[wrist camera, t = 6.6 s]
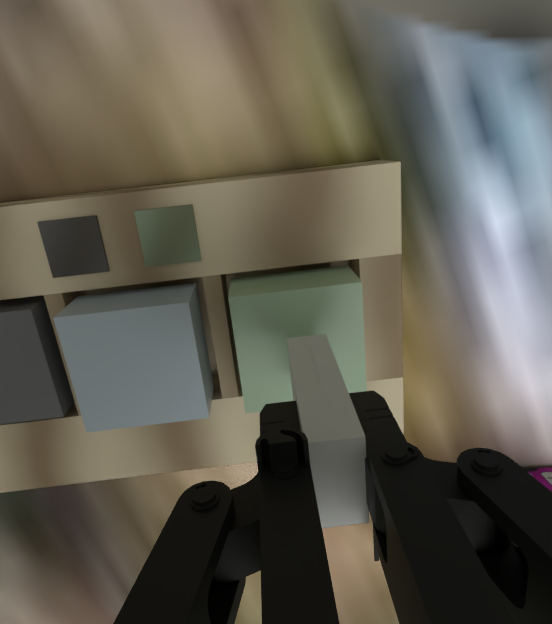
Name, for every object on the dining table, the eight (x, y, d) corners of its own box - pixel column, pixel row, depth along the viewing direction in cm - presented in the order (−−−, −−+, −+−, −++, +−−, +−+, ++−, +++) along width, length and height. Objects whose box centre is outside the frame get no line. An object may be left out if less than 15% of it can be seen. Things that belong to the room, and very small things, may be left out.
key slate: (105, 399, 23) (86, 432, 20) (77, 296, 21) (52, 318, 18) (214, 386, 23) (209, 418, 20) (196, 282, 21) (188, 302, 18)
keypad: (-27, 462, 26) (-63, 503, 23) (-126, 216, 22) (-187, 228, 19) (387, 412, 27) (404, 446, 24) (381, 160, 22) (402, 162, 19)
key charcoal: (-19, 399, 24) (-52, 430, 22) (-55, 302, 22) (-96, 323, 20) (84, 387, 24) (63, 416, 22) (56, 290, 22) (30, 309, 20)
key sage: (246, 382, 23) (245, 413, 20) (230, 278, 21) (228, 297, 18) (353, 369, 23) (367, 398, 20) (347, 265, 21) (362, 281, 18)
